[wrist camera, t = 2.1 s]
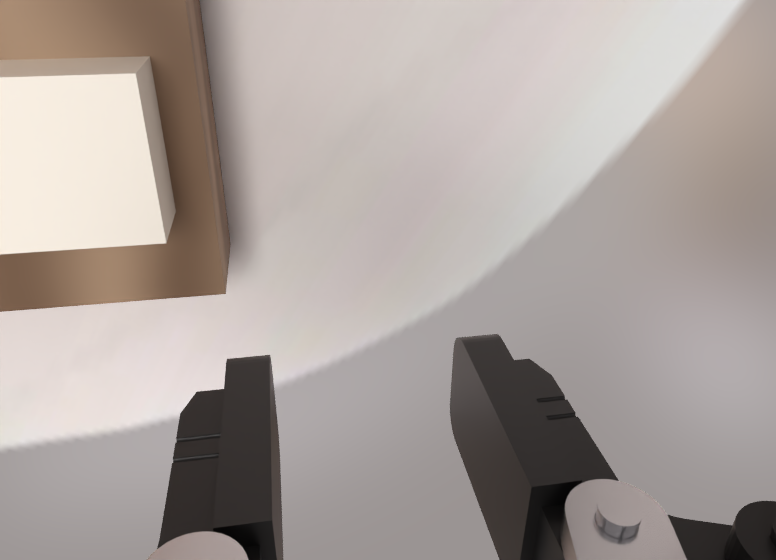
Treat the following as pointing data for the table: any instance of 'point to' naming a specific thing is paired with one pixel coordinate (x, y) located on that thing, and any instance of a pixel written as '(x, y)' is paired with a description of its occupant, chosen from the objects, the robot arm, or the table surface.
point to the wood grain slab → (182, 144)
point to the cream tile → (81, 155)
